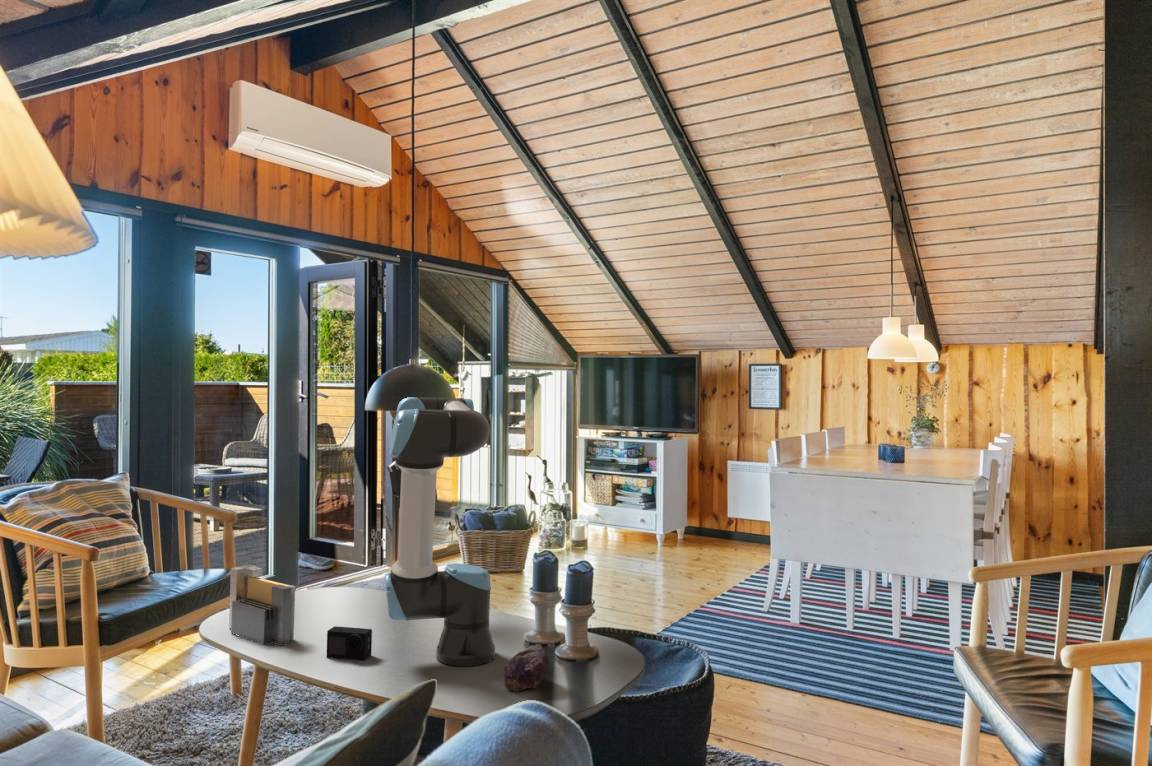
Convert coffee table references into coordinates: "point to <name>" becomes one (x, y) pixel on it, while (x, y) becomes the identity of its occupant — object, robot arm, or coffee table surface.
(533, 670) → the rock
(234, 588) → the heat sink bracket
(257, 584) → the orange wooden board
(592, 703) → the coffee table surface
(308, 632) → the coffee table surface
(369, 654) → the digital camera
